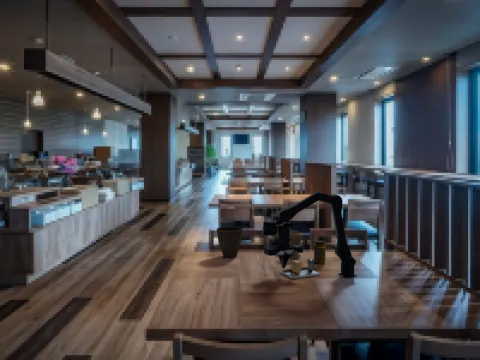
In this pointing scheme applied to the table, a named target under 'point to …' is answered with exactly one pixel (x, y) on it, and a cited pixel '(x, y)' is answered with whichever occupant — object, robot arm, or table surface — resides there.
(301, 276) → the plate
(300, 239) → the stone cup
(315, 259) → the condiment
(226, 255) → the plant pot
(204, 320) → the table surface
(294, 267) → the leg
